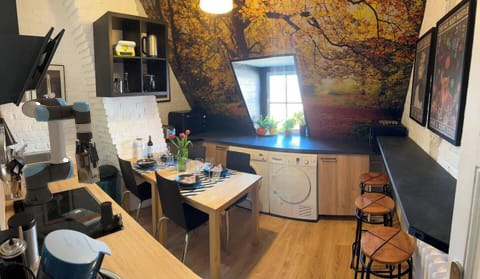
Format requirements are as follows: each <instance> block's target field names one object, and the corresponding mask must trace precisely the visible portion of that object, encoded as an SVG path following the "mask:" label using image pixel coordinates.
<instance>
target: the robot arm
mask: <svg viewBox="0 0 480 279" xmlns="http://www.w3.org/2000/svg"><path fill="white" fill-rule="evenodd" d="M21 113H23V114H22V115H24V116H25V117H27V118H30V119H35V121H36V122H37V123H38V122H39V123H40V122H42V123H45V122H47V129H48V138H49V149H50V160H49V161H48V164H46V163H44V162H40V163H34V164H31V165H29V166H27V167H25V168H24V169H23V177H24V183H25V189H26V191H25V196H24V205H26V206H39V205H42V204H46V203H49V202H50V201H52V200H54V196H53V195H54V194H53V193H52V191H51V190H50V188H49V184H50V183H55V182H60V181H65V180H68V179H71V178H72V177H73V175H74V172H75V171H74V164H73V162H72V160H70V158H68V156H67V149H66V146H67V145H66V136H65V135H66V134H65V127H64V124H65V123H64V122H65V121H67V120H70V121H71V120H74V125H75V126H74V127H75V132H76V133H75V135H76V141H74V142H75V151H74V152H75V154H77V153H82V152H88V154H90V159H91V172H92V175H93V174H97V161H98V162H99V161H100V157H99V154H98V150H97V145H96V142H95V141H93V142H92V139H93V126H92V117H91V115H92V114H91V107H90V103H89V102H88V101H75V102H73V103H72V104H67V102H66V100H65V99H64V98H62V97H50V98H49V97H47V98H46V97H45V98H33V99H29V100H27V101H25V102H24V103H22V106H21ZM75 154H74V155H75Z"/></svg>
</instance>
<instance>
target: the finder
mask: <svg viewBox="0 0 480 279" xmlns="http://www.w3.org/2000/svg"><path fill="white" fill-rule="evenodd" d="M80 209H81V208H76V209H73V210H71V211H68V213H69V216H68V217H69V218H70V219H71V218H72V220H73V219H74V220H75V219H76V220H79V218H83V217H84V216H86V213H85V212H84V210H80ZM84 218H85V217H84Z"/></svg>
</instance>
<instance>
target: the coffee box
mask: <svg viewBox="0 0 480 279" xmlns="http://www.w3.org/2000/svg"><path fill="white" fill-rule="evenodd" d="M74 158H75V163H76V164H75V165H76V166H75V167H76V172H77V181H78V182H77V183H78V184H85V185H87V184H88V185H93V184H96V183H99V182H100V181H101V178H100V177H101V176H100V167H99V161H97V174H93V175H92V172H91V159H90V154H88V152H87V151H85V152H82V153H77V154H74Z"/></svg>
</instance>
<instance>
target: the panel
mask: <svg viewBox="0 0 480 279" xmlns="http://www.w3.org/2000/svg"><path fill="white" fill-rule="evenodd" d="M79 209H80V210H83V211H84V213H85V216H84V217H81V218H79V219H73V218H70V217H69V212H67V213H63V214H61V217H65V218H67V219H70V220H72V221H76V222H78V223H80V224H83V225H84V227H88V226H90V225H92V224H95V223H97V222H100V221H99V220H100V219H101V213H98V212H96V211H91V210H89V209H85V208H82V207H81V208H79Z"/></svg>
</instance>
